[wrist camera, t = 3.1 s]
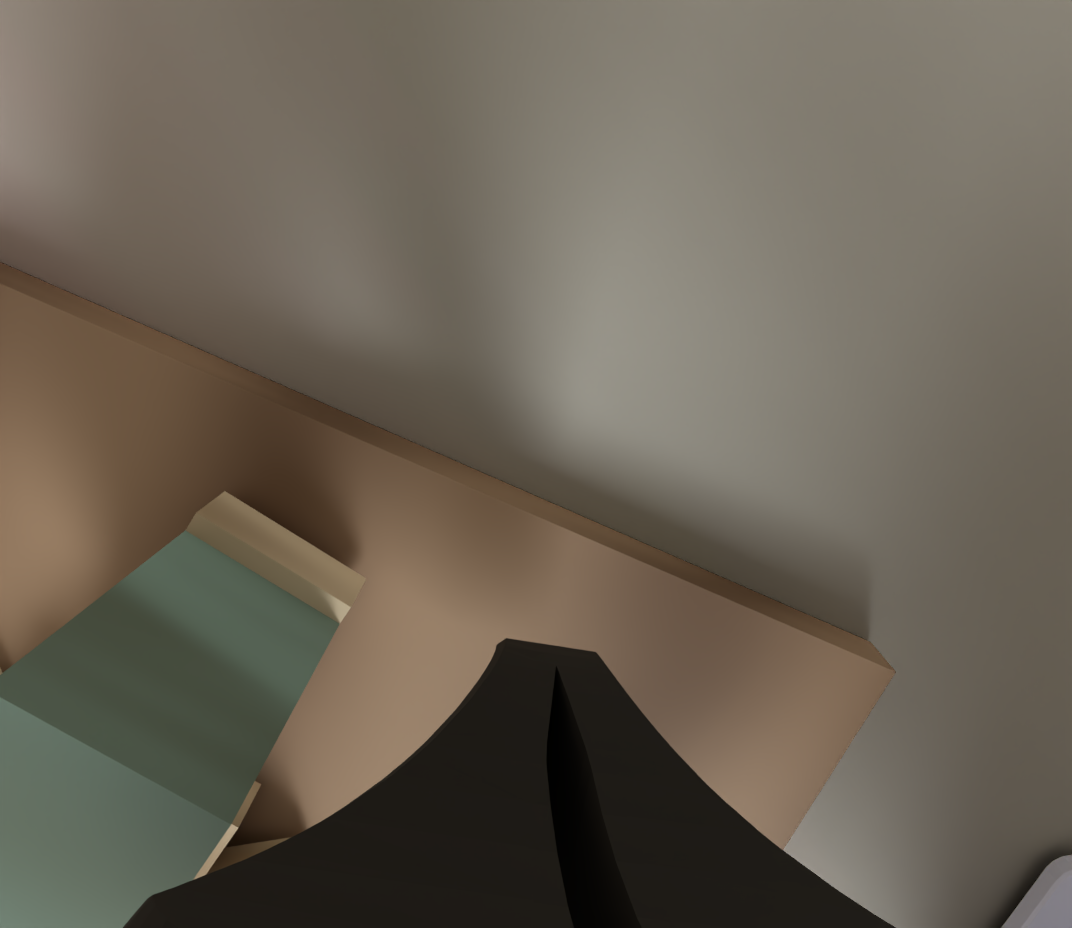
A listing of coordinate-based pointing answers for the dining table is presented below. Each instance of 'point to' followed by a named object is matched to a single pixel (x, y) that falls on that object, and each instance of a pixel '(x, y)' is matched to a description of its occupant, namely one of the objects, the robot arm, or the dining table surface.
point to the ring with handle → (158, 718)
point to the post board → (389, 569)
